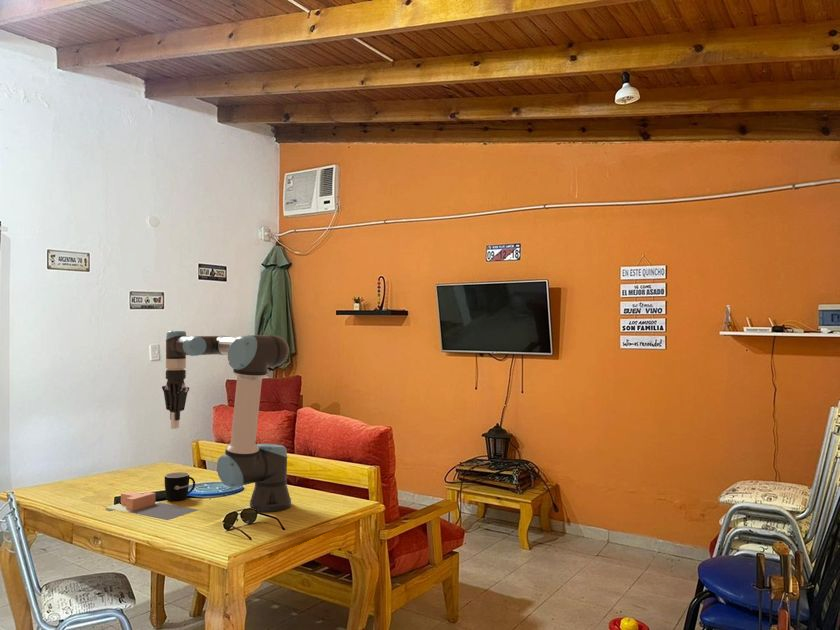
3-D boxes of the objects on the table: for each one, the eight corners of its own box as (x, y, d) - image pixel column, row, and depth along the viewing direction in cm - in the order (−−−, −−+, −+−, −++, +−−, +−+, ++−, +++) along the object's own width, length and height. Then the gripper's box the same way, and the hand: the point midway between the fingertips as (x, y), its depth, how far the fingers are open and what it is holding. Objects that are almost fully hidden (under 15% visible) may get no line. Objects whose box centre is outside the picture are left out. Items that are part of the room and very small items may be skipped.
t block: (155, 503, 241) (155, 493, 241) (132, 510, 232) (132, 499, 232) (136, 500, 246) (136, 489, 246) (113, 506, 237) (113, 495, 237)
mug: (171, 505, 241) (171, 478, 242) (159, 501, 247) (160, 474, 247) (200, 499, 250) (201, 473, 251) (188, 495, 256) (189, 469, 256)
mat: (198, 512, 234) (198, 509, 234) (167, 522, 221) (167, 520, 221) (137, 500, 248) (137, 498, 248) (105, 509, 236) (105, 507, 236)
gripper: (194, 369, 259) (194, 428, 258) (171, 368, 265) (170, 425, 264) (180, 370, 252) (179, 430, 252) (156, 369, 258) (155, 428, 257)
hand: (174, 428), depth 258 cm, fingers closed
